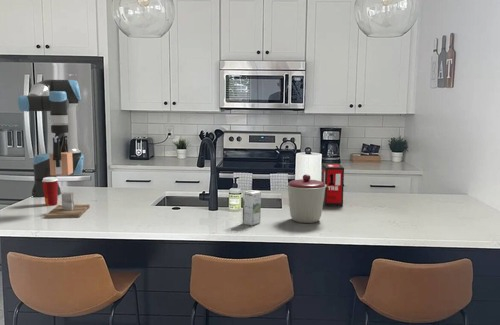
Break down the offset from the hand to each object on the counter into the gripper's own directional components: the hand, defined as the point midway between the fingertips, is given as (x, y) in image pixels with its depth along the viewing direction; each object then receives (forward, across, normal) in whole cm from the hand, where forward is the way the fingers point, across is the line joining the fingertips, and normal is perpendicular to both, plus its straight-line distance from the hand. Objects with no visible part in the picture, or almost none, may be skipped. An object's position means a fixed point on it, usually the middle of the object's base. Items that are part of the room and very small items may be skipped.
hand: (62, 172), depth 217 cm
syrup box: (+20, +26, +88) cm, 94 cm away
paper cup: (+20, -18, -12) cm, 29 cm away
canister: (+20, +22, +113) cm, 117 cm away
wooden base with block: (+20, 0, +2) cm, 20 cm away
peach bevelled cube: (+1, 0, 0) cm, 1 cm away
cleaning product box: (+20, -12, +134) cm, 136 cm away
